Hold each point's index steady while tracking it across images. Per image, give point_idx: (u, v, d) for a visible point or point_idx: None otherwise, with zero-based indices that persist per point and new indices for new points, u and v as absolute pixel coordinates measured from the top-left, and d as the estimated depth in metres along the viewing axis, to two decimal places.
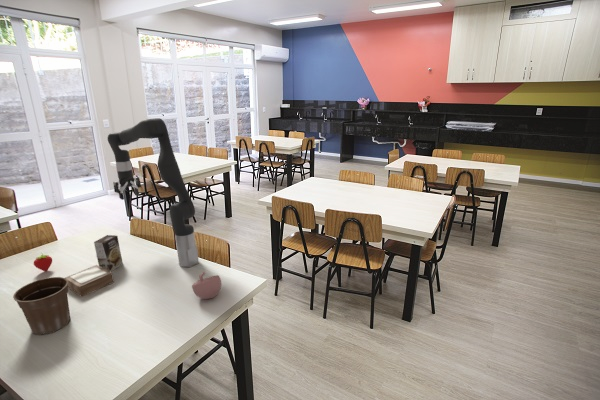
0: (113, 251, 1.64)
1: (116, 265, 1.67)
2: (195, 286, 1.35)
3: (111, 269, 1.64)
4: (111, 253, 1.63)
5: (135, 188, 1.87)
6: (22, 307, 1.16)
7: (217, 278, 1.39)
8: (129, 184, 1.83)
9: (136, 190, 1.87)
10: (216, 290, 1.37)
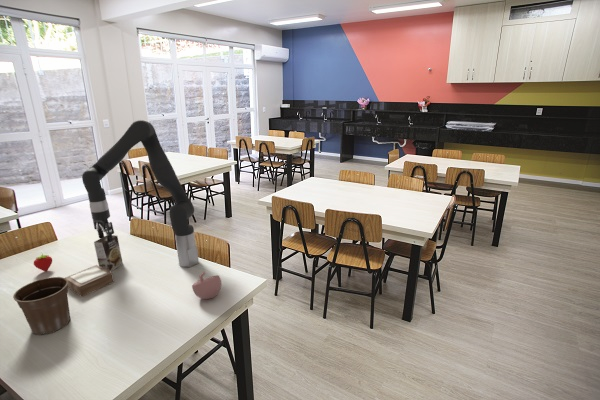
0: (113, 251, 1.64)
1: (116, 265, 1.67)
2: (195, 286, 1.35)
3: (111, 269, 1.64)
4: (111, 253, 1.63)
5: (100, 229, 1.64)
6: (22, 307, 1.16)
7: (217, 278, 1.39)
8: None
9: (102, 231, 1.65)
10: (216, 290, 1.37)
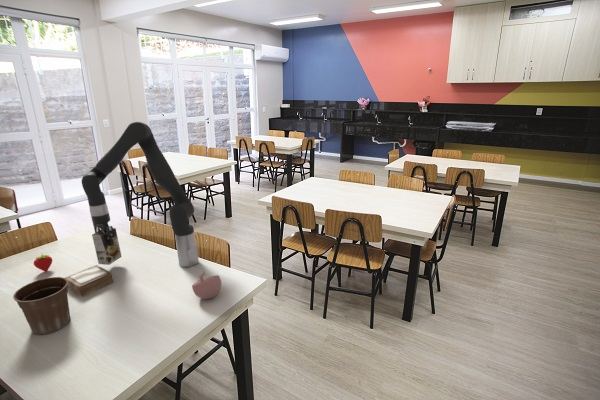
0: None
1: (115, 257, 1.65)
2: (195, 286, 1.35)
3: (110, 262, 1.62)
4: (110, 246, 1.62)
5: None
6: (22, 307, 1.16)
7: (217, 278, 1.39)
8: None
9: None
10: (216, 290, 1.37)
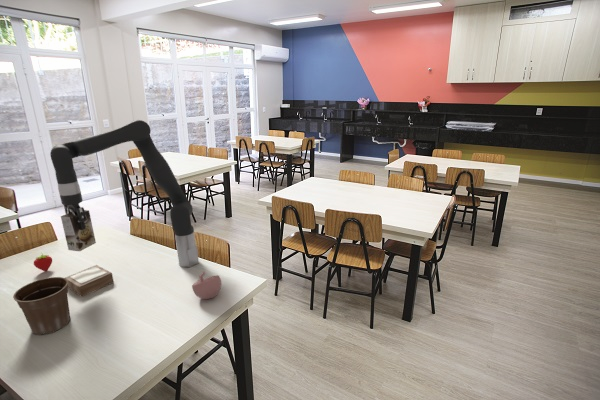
0: None
1: (88, 243, 1.47)
2: (195, 286, 1.35)
3: (81, 248, 1.44)
4: (81, 230, 1.43)
5: None
6: (22, 307, 1.16)
7: (217, 278, 1.39)
8: None
9: None
10: (216, 290, 1.37)
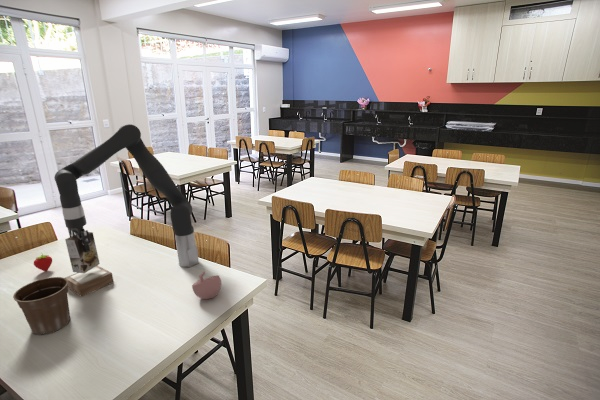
0: None
1: (92, 265, 1.49)
2: (195, 286, 1.35)
3: (85, 270, 1.46)
4: (86, 252, 1.45)
5: None
6: (22, 307, 1.16)
7: (217, 278, 1.39)
8: None
9: None
10: (216, 290, 1.37)
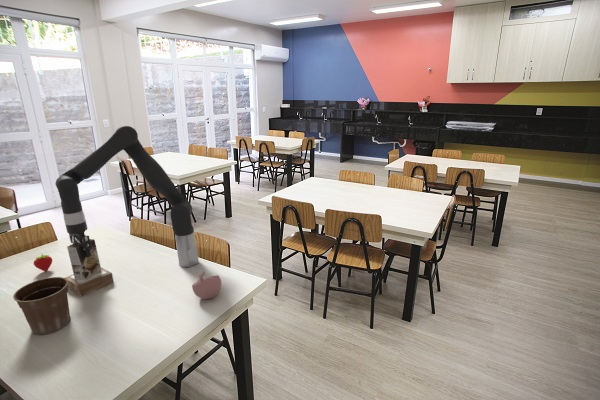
0: (89, 257, 1.47)
1: (93, 272, 1.50)
2: (195, 286, 1.35)
3: (87, 277, 1.47)
4: (87, 259, 1.46)
5: None
6: (22, 307, 1.16)
7: (217, 278, 1.39)
8: None
9: None
10: (216, 290, 1.37)
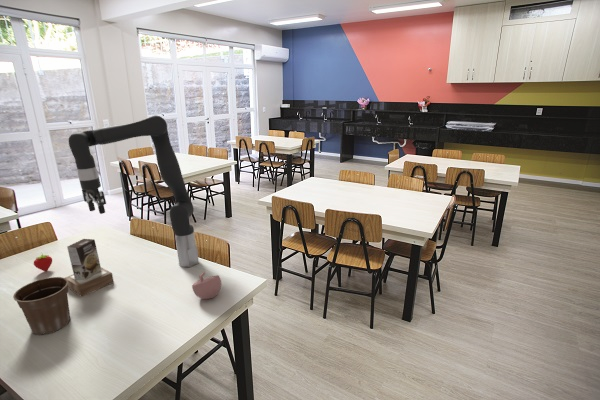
0: (89, 257, 1.47)
1: (93, 272, 1.50)
2: (195, 286, 1.35)
3: (87, 277, 1.47)
4: (87, 259, 1.46)
5: (91, 202, 1.52)
6: (22, 307, 1.16)
7: (217, 278, 1.39)
8: None
9: (93, 203, 1.53)
10: (216, 290, 1.37)
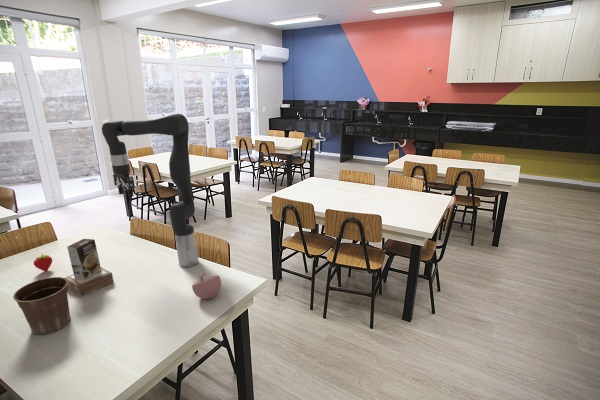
0: (89, 257, 1.47)
1: (93, 272, 1.50)
2: (195, 286, 1.35)
3: (87, 277, 1.47)
4: (87, 259, 1.46)
5: (120, 186, 1.65)
6: (22, 307, 1.16)
7: (217, 278, 1.39)
8: None
9: (122, 187, 1.66)
10: (216, 290, 1.37)
